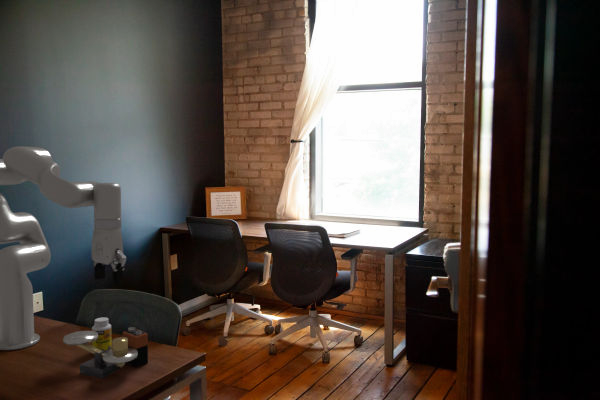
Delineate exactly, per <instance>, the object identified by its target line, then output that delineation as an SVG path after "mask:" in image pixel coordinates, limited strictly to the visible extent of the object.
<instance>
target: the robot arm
mask: <svg viewBox="0 0 600 400" xmlns="http://www.w3.org/2000/svg"><path fill="white" fill-rule="evenodd" d="M60 176H61V167H60V165H58V163H57V162H55V161H54V159H53V157H52V154H51V153H50V152H49V151H48V150H47V149H45V148H43V147H39V146H24V145H23V146H22V145H20V146H19V145H18V146H12V147H10V148H9V149H6V151H5V152H4V154H3V156H2V158H0V186H10V185H11V186H12V185H18V184H20V185H21V184H22V183H26V182H28V181H30V183H33V184H35V185H37V186H38V189H39V191H40V192H41V194H42V196H44V198H46V199H48V200H49V201H52V202H53V203H54V204H57V205H59V206H61V207H64V208H66V209H78V208H86V207H87V208H88V207H93V231H92V239H91V250H90V253H91V259H92V260H91V261H92V262H93V263H92V264H93V267H94V268H93V270H94V271H93V272H94V273H93V275H94V280H95V281H96V280H102V279H105V278H106V265H110V266H111V268H112V270H113V271H111V283H112V285H114V286H116V285H121V284H123V283H124V270H125V267H126V262H127V256H126V255H125V254H124V245H123V244H124V243H123V235H122V234H123V233H122V190H121V189H122V188H121V186H120V184H119V183H115V182H98V181H68V180H66V179H64V178H62V177H60ZM46 239H47V238H46V237H45V235H44V232H43V230H42V227H41V225H40V222H39V221H38V219H37V217H35V216H34V215H32V214H31V213H29V212H26V211H25V212H24V211H20V212H13V211H12V210H11V208H10V206H9V203H8V201H7V199H6V197H5V196H4V195H3V194H2V193H1V192H0V245H5V244H6V245H7V244H12V243H17V242H18V243H19V244H15V245H9V246H6V247H3V248H1V249H0V350H1V351H11V350H12V351H14V350H21V349H24V348H28V347H30V346H33V345H35V344H37V343H38V342H39V341H40V340H41V336H40V335H39V334H38V333H35V326H34V325H35V323H34V322H35V320H34V319H35V318H34V316H35V315H34V293H33V292H34V290H33V289H34V288H33V285H32V284H33V283H32V282H31V280H30V279H29V277H28V276H27V275H28V273H31V272H35V271H39V270H42V269H45V268H46V267H47V266H48V265H49V264H50V262H51V259H52V258H51V257H52V255H51V250H50V247H49V245H48V242H47V240H46Z"/></svg>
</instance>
